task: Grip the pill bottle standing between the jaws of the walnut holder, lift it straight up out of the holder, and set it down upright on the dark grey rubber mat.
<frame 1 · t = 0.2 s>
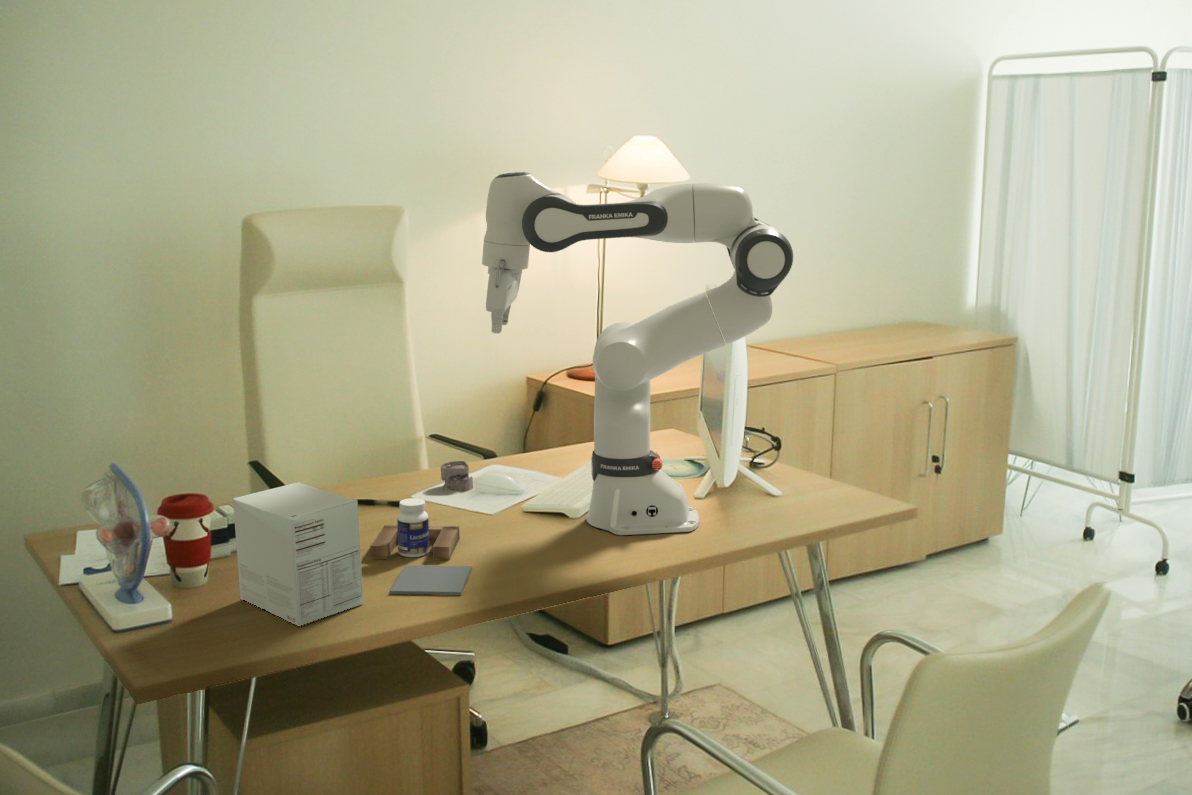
hand: (499, 328, 230), 39 cm above the table, tool pointing down, fingers open, 8 cm apart
pill bottle: (414, 553, 220), on the table
mat: (432, 581, 206), on the table
dental mold: (456, 487, 260), on the table
supplement box: (301, 603, 197), on the table
holder: (414, 552, 220), on the table
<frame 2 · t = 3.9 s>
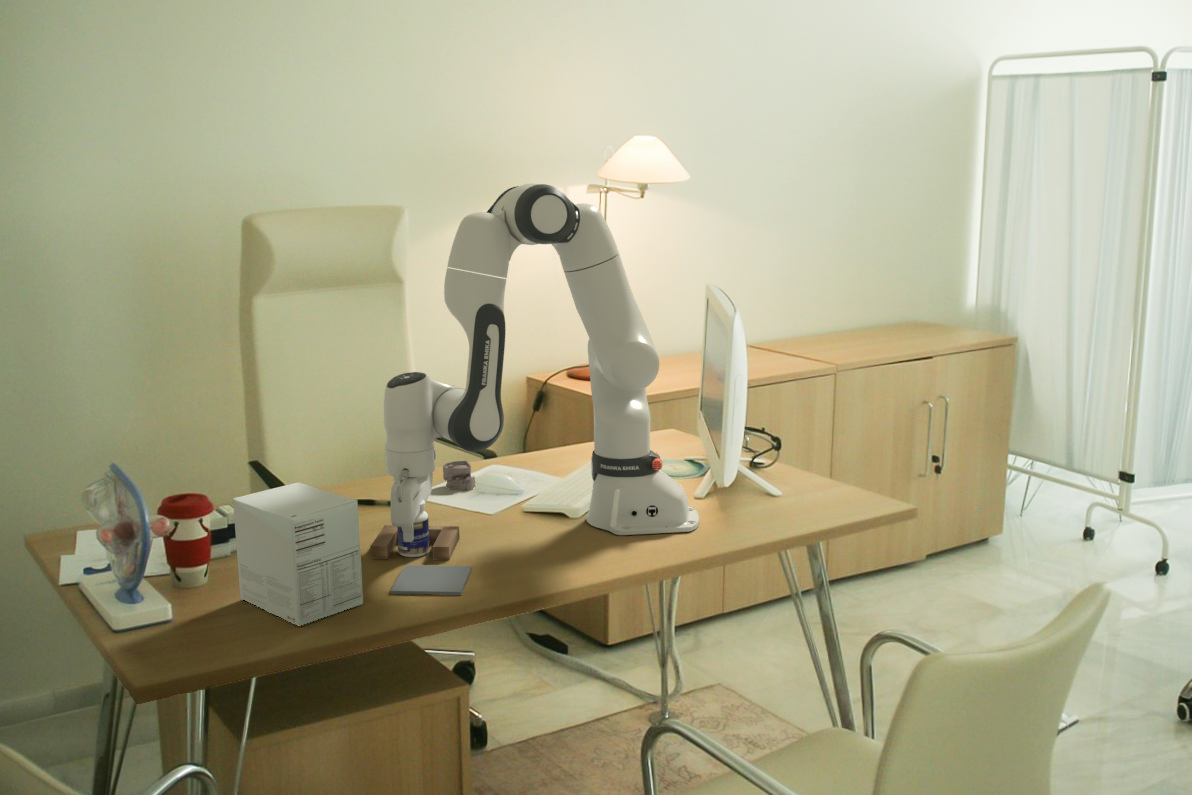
hand: (413, 534, 219), 4 cm above the table, tool pointing down, fingers closed on pill bottle, 6 cm apart
pill bottle: (414, 553, 220), on the table, touching gripper
everything else where it was.
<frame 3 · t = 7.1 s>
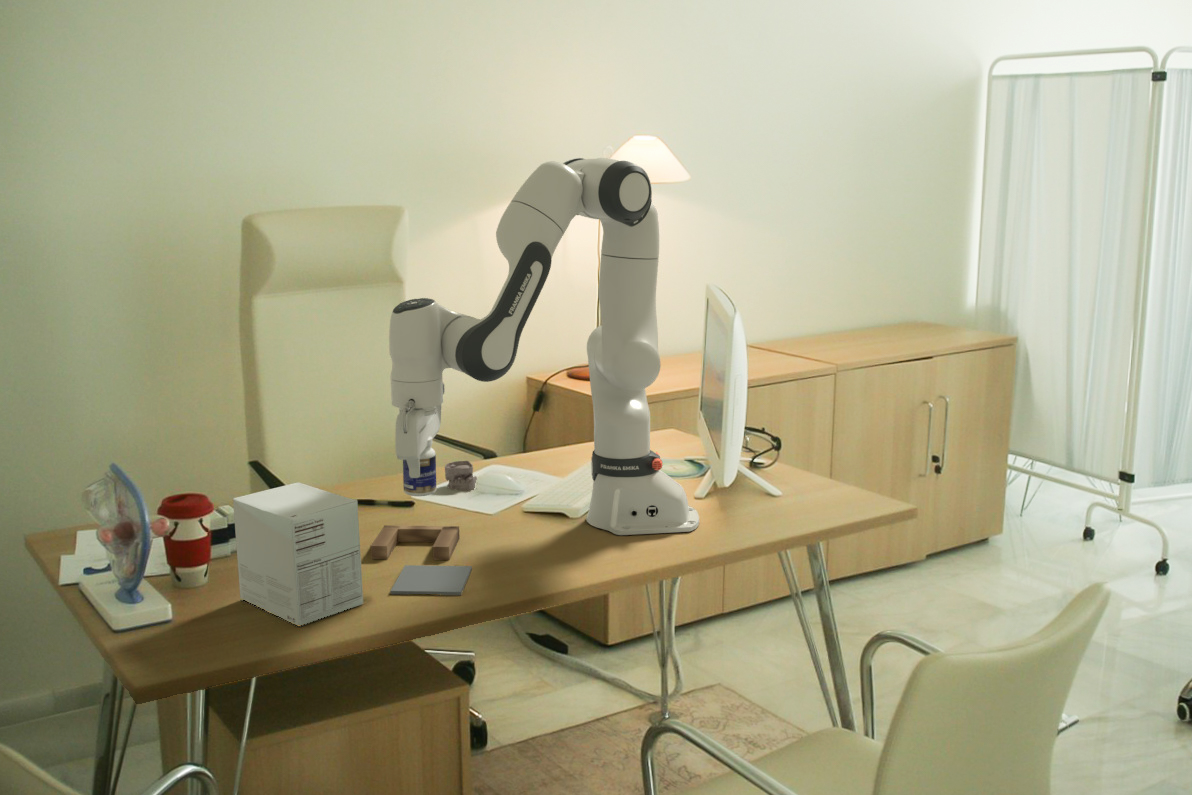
hand: (419, 471, 207), 18 cm above the table, tool pointing down, fingers closed on pill bottle, 6 cm apart
pill bottle: (420, 493, 208), point 14 cm above the table, touching gripper
everything else where it was.
when the fingers open (6 cm above the table, at t = 10.4 s): pill bottle stays where it is, resting on mat.
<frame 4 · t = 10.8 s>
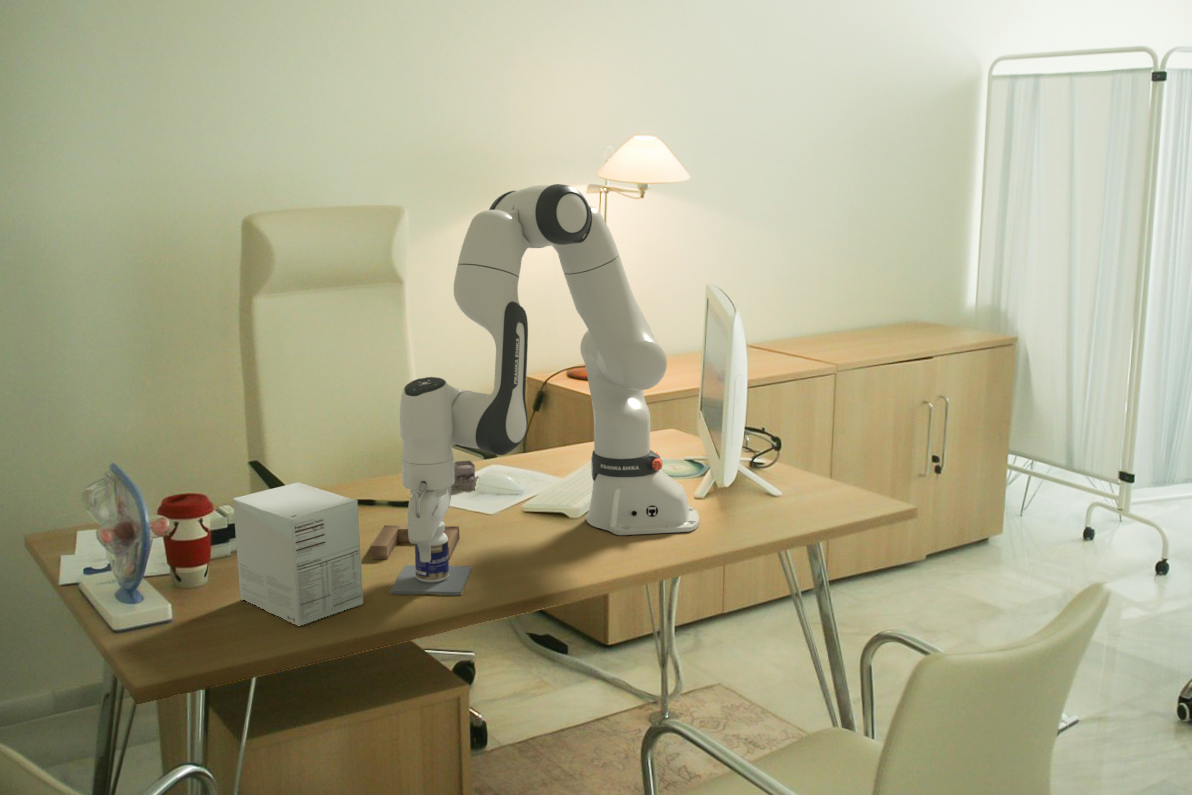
hand: (431, 550, 204), 6 cm above the table, tool pointing down, fingers open, 8 cm apart
pill bottle: (432, 578, 206), resting on mat
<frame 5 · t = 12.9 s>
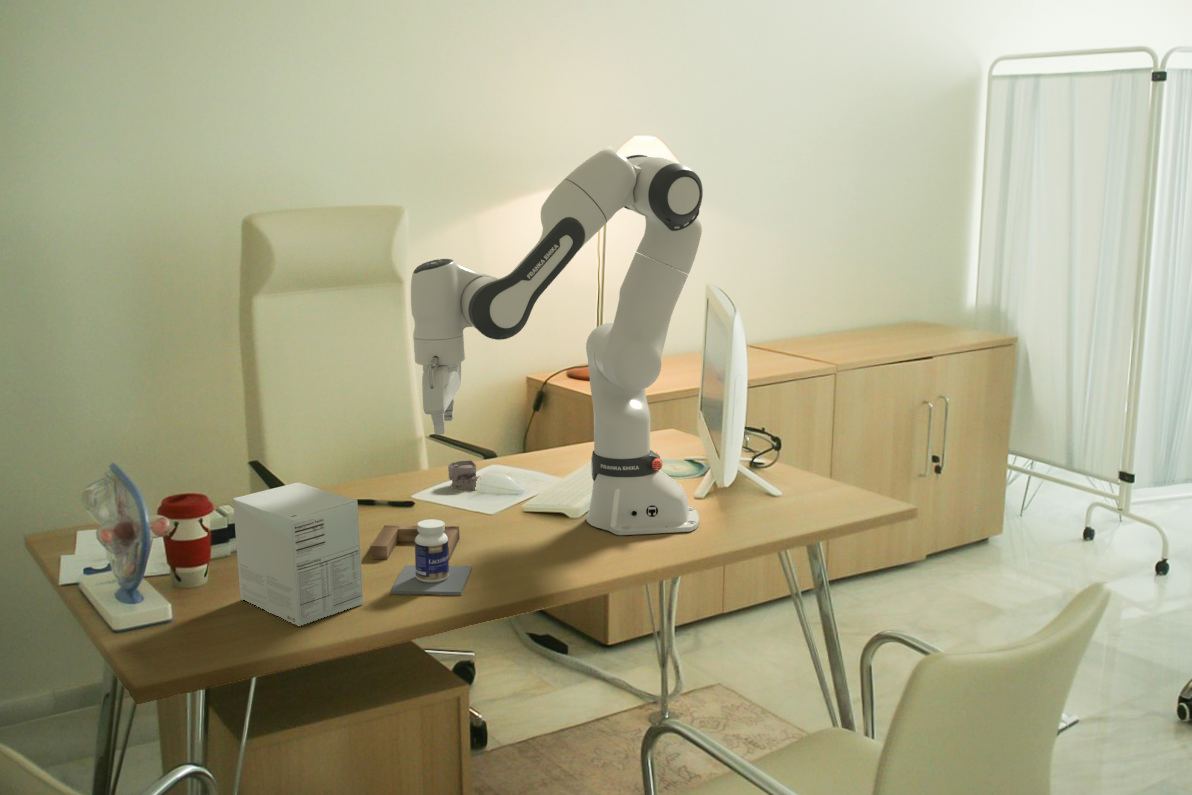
hand: (444, 426, 214), 24 cm above the table, tool pointing down, fingers open, 8 cm apart
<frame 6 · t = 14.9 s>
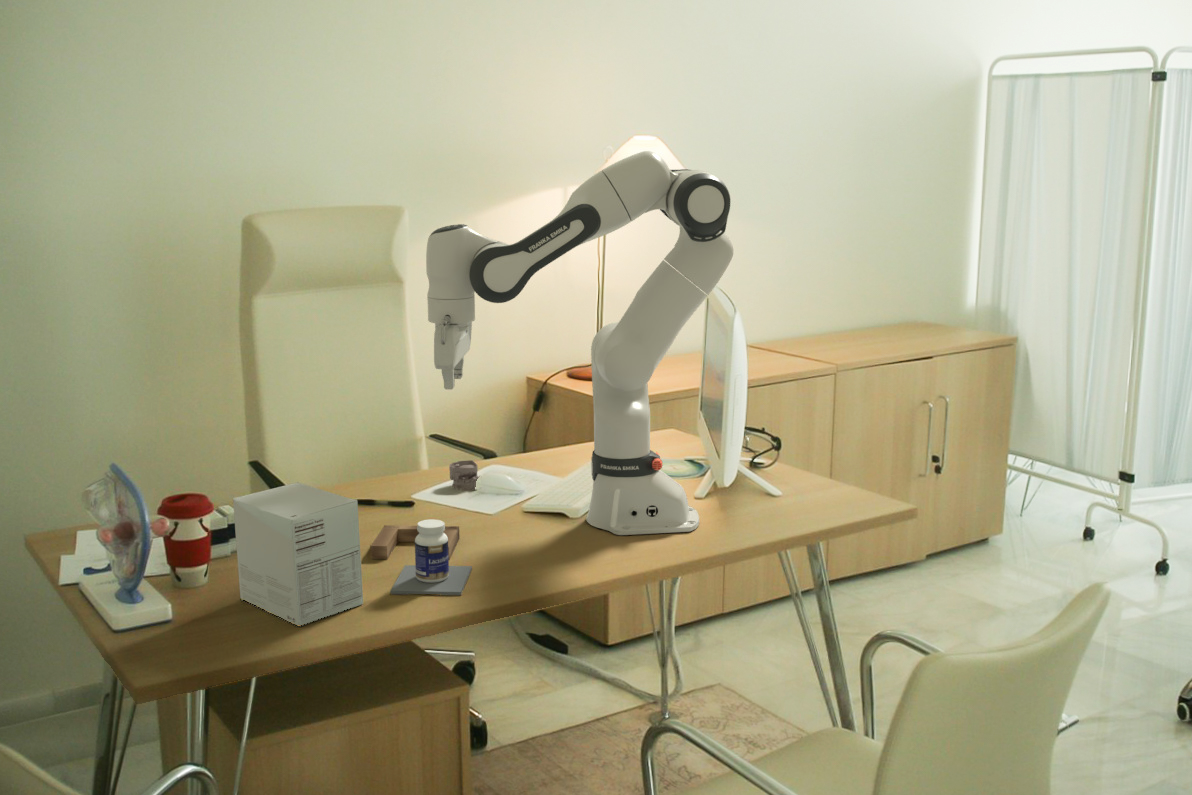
hand: (453, 383, 226), 29 cm above the table, tool pointing down, fingers open, 8 cm apart
at the end: pill bottle 0.2 cm from the mat (horizontally); pill bottle tilted 0°; pill bottle resting on mat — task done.
